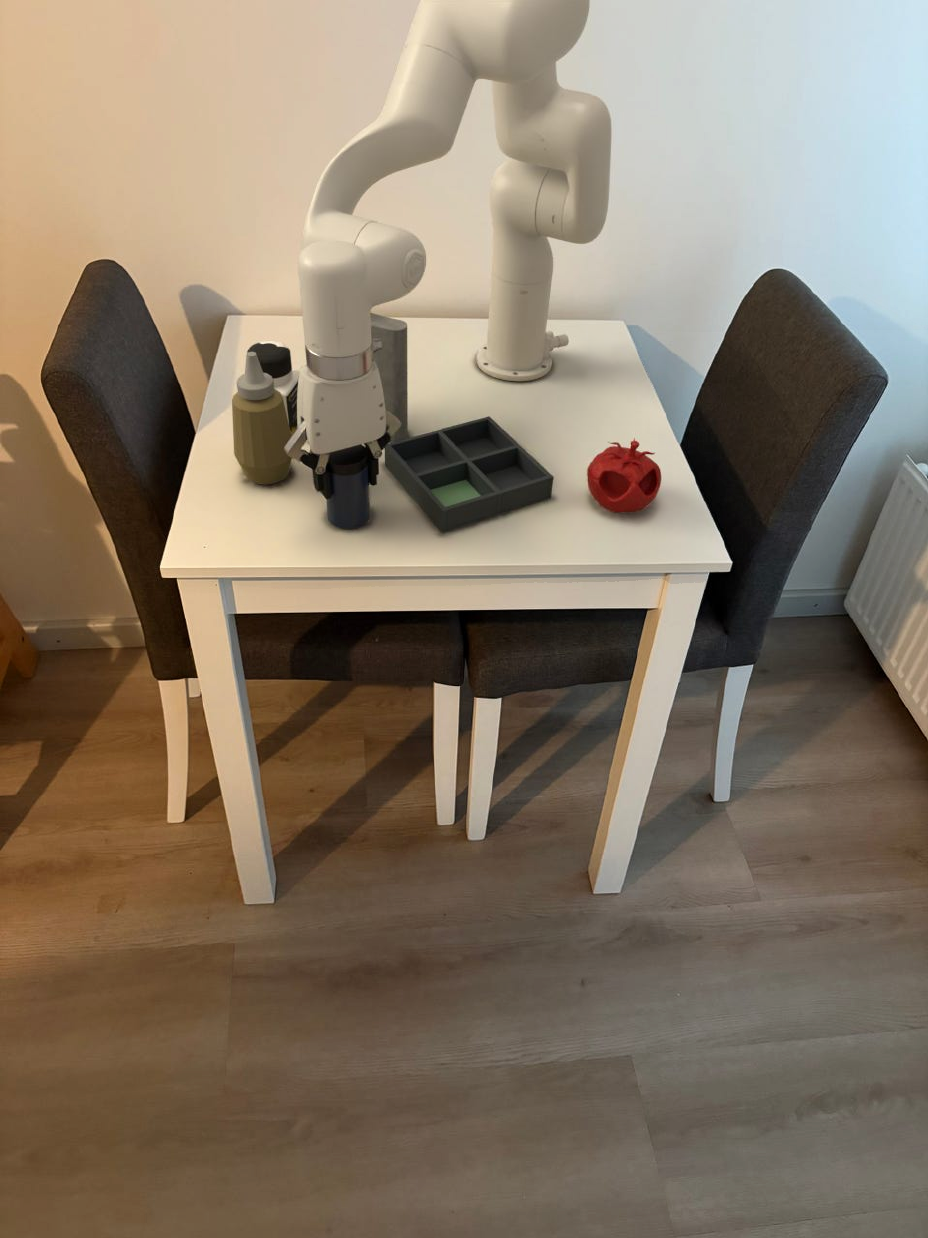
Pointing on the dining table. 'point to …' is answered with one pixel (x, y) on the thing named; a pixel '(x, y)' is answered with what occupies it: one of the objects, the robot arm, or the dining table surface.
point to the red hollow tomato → (623, 478)
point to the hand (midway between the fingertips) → (347, 485)
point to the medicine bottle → (280, 374)
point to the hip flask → (392, 368)
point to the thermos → (348, 488)
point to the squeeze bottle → (260, 426)
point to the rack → (467, 473)
